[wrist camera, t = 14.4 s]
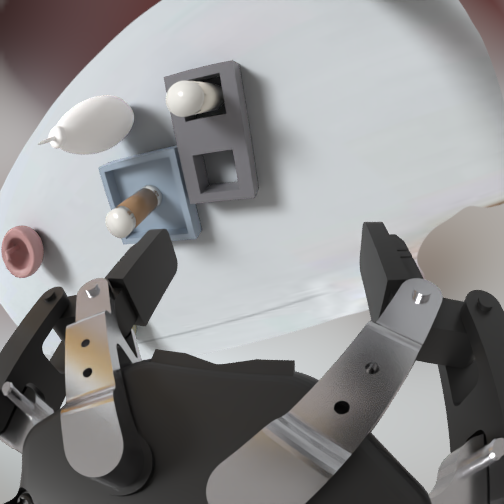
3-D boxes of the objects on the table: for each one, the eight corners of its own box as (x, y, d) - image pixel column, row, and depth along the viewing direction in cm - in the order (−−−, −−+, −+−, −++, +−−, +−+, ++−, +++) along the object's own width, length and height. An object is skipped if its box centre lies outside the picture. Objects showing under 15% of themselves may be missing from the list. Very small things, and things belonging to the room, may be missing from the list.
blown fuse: (137, 186, 41) (101, 212, 32) (158, 182, 40) (124, 208, 32) (144, 209, 43) (111, 239, 34) (164, 206, 42) (133, 237, 34)
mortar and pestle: (56, 239, 51) (24, 267, 42) (48, 267, 57) (22, 294, 47) (26, 207, 48) (-7, 230, 38) (21, 238, 54) (-7, 262, 44)
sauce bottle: (98, 115, 36) (12, 142, 21) (129, 83, 33) (39, 93, 18) (121, 150, 39) (41, 191, 24) (155, 120, 36) (71, 147, 21)
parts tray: (108, 162, 40) (98, 167, 38) (182, 144, 37) (174, 148, 35) (131, 236, 47) (123, 244, 45) (202, 229, 44) (196, 239, 42)
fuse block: (176, 78, 32) (163, 77, 29) (239, 63, 30) (232, 60, 27) (199, 194, 41) (190, 204, 38) (258, 188, 39) (254, 197, 36)
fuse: (195, 86, 32) (162, 86, 24) (223, 80, 32) (198, 76, 23) (199, 113, 34) (169, 120, 26) (227, 108, 34) (204, 112, 25)
